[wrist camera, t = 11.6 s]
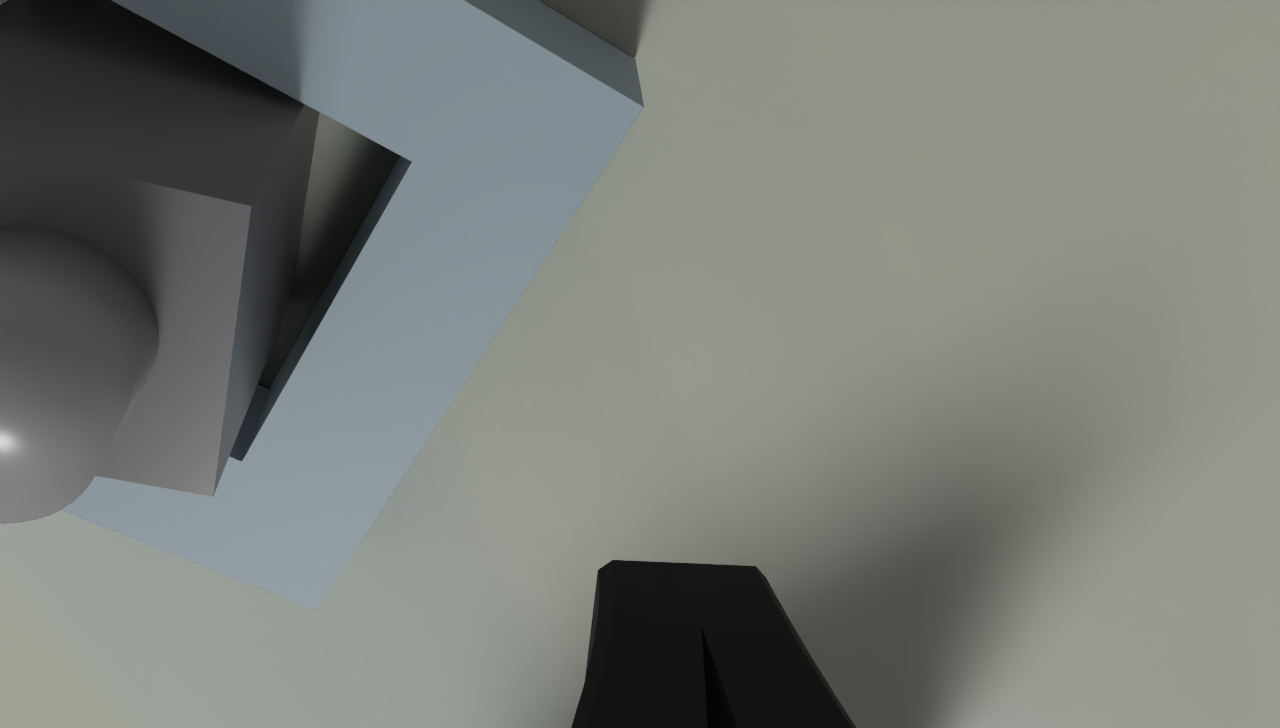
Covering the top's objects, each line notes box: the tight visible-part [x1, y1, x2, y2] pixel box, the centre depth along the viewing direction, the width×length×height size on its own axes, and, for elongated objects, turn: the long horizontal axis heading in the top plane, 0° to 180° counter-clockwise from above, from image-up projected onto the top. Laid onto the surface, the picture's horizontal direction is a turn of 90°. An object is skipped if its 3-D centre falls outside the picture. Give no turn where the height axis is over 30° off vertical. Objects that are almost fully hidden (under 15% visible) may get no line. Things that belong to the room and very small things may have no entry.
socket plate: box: [62, 0, 644, 610], centre depth 17 cm, size 10×10×2 cm
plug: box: [0, 0, 319, 524], centre depth 15 cm, size 4×4×7 cm
